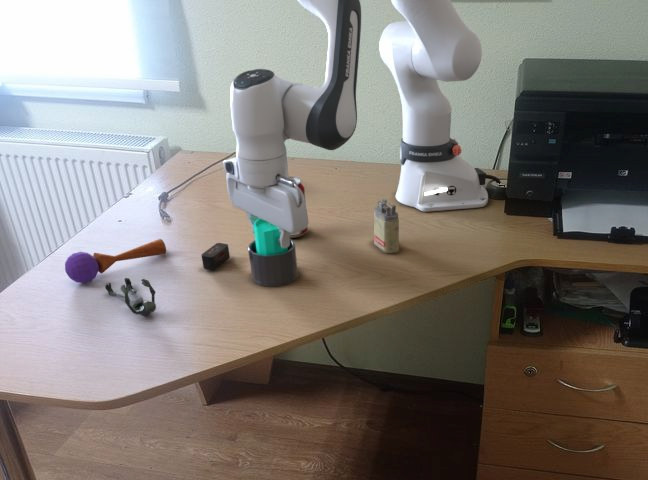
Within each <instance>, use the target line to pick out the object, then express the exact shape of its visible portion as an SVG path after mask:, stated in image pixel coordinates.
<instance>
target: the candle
mask: <svg viewBox="0 0 648 480" xmlns="http://www.w3.org/2000/svg"><path fill="white" fill-rule="evenodd" d="M253 226H254V233H253V234H254V241H255V242H256V250H257V254H261V255H276V254H281V253H284V252H286V251H288V247H286V248H282V247H280V246H278V242H277V238H278V237H280V235H281V232H280V231H279V227H277V226H275V225H273V224H271V223H269V222H267V221H265V220H263V219H260V218H259V219H258V220H257V221H255V222H254V225H253Z"/></svg>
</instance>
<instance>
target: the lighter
mask: <svg viewBox="0 0 648 480" xmlns="http://www.w3.org/2000/svg"><path fill="white" fill-rule="evenodd" d="M376 204H377V205H376V206H375V207H374V213H373V221H374V222H373V223H374V225H373V226H374V227H373V228H374V229H373V230H374V231H373V232H374V243H373V244H374V245H375V247H377V248H379V249H380V250H381V251H382V252H384V253H386V254H396V253H398V252H399V251H400V245H399V244H400V243H399V242H400V233H399V232H400V218H399V213H398V212H397V211H396V210H397V205H396V204H391V203H390V202H388V200H387V199H385V198H383V199H382V201H381V200H377V202H376ZM387 204H388V205H389V206H390V207H389V206H388V205H387Z"/></svg>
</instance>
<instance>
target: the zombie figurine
mask: <svg viewBox="0 0 648 480" xmlns="http://www.w3.org/2000/svg"><path fill="white" fill-rule="evenodd" d="M140 280H141V285H143V286H144V287H146V288H149V293H150V294H151V301H150V300H147V301H145V300H144V298H143V297H142V296H141V295H140V293H138V291H137V290H135V289H134V287H133V285H132V281H131V279H130V278H129V277H125V278H124V283H125V284H121V286H120V291H117V292H115V291H114V290H113V288H112V283H111V282H108V283H106V284H105V285H104V289H105V290H106V291H107V293H108V295H109V296H115V297H116V298H122V299H124V303H125V305H126V306H127V307H128V309H129V310H130V311H131V312H132V313H133V314H135V315H139V316H141V317H142V316H145V317H146V316H148V315H149V314H151V313H154V312H155V311H156V309H157V305H156V300H155V299H156V298H155V296H156V291H155V288H154V287H153V286H152V285H151V282H150V281H149V280H148V279H145V278H142V279H140ZM129 291H130V294H131V295H132V297H133V298H134V299H133V300H132V299H131V298H130V297H129Z"/></svg>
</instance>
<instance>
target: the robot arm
mask: <svg viewBox="0 0 648 480" xmlns="http://www.w3.org/2000/svg"><path fill="white" fill-rule="evenodd" d="M296 1H297V2H298V4H299V5H300V6H302V8H304V9H305V10H307V11H308V12H309V13H311V14H313V15H314V16H315V17H317V18H318V19H320V20H321V21H322V22H323V23H324V26H325V27H326V30H327V35H328V42H327V43H328V45H327V53H326V54H327V57H326V68H325V79H324V82H323V84H322V85H321V86H313V85H306V84H302V83H299V82H298V83H297V82H292V81H288V80H285V79H283V78H280V77H278V76H277V75H276V73H275V72H274V71H272V70H271V69H266V68H255V69H251V70H246V71H243V72H241V73H240V74H238V75H237V76H235V77H234V78H233V80H232V82H231V86H230V93H229V94H230V96H229V100H230V101H229V102H230V105H229V106H230V117H231V124H232V130H233V131H232V132H233V133H234V135H235V139H236V148H235V155H236V156H234V157H231V158H228V159H225V160H223V162H222V166H223V170H224V172H225V173H226V175H225V177H226V179H225V180H226V185H227V187H226V188H227V193H228V198H229V201H230V202H231V204H232V205H233V207H236V208H238V209H240V210H242V211H243V212H245V214H246V217H247V220H248V222H249V223H250V225H251V231H252V234H254V226H253V225H254V222H255V221H257V220H258V219H259V218H260V219H263V220H265V221H267V222H269V223H271V224H273V225H275V226H277V227H279V231H280V232H281V235H280V237H278V238H277V242H278V246H280V247H282V248H286V247H289V245H290V240H289V237H290V235H291V233H297V232H300V231H302V230H304V229H306V228H308V226H309V215H308V209H307V208H308V207H307V203H305V201H306V197H305V198H304V195H303V193H302V191H301V189H300V188H299V187H298V186H297V185H296V182H295V181H294V180H291V179H288V177H290V176H289V164H288V152H287V146H286V144H285V143H286V141H287V140H292V141H297V142H301V143H306V144H311V145H313V146H315V147H318V148H321V149H324V150H327V151H335V150H337V149H339V148H341V147H342V146H343V145H345V144H346V143H347V142H348V141H349V140H350V139H351V138H352V136H353V135H354V134H355V131H356V128H357V124H358V123H357V122H358V109H357V108H358V107H357V86H358V85H357V82H358V73H359V71H358V70H359V59H360V49H361V48H360V47H361V32H362V5H361V0H296ZM390 2H391V4H392V6H393V8H394V9H395V10H396V11H397V12H398V13H400V15H402V16H403V17H404V19H405V20H398V21H394V22H393V21H392V22H391V23H389V24H388V25H387V26H386V27H385V28H384V30H383V31H382V33H381V35H380V37H379V38H380V39H379V45H378V46H379V47H378V49H379V55H380V58H381V60H382V62H383V64H385V66H386V67H387V68H388V70H389V71H390V73H391V75H392V77H393V79H394V82H395V85H396V87H397V90H398V93H399V98H400V102H401V103H400V104H401V110H402V138H401V139H400V146H399V160H400V164H401V168H400V174H399V181H398V184H397V190H396V193H395V196H394V197H395V199H396V201H397V202H399V203H401V204H403V205H404V206H408V207H412V208H416V209H417V210H419V211H422V212H424V213H425V212H427V213H428V212H440V211H451V210H452V211H453V210H465V209H477V208H483V207H485V206H486V205H487V204H488V203H489V194H488V191H487V189H486V188H485V187H484V186H485V185H486V179H487V180H492V181H494V182H495V183H496V184H497V183H499V184H500V183H502V181H501V180H500V178H498V177H497V176H495V175H492V174H487V173H486V172H485V171H483V170H482V169H481V168H479V167H474V166H473V165H471V164H470V163H469V162H468V161H466V160H465V159H464V158H462V156H460V155H461V154H462V152H463V150H462V147H461V145H459V143H458V141H457V140H456V138H452V137H451V128H452V127H451V126H452V125H451V123H452V106H451V103H450V100H449V99H448V98H447V97H446V96H445V95H444V93H443V92H442V90H441V88H440V85H439V84H438V81H440V82H445V83H449V82H452V83H453V82H463V81H467V80H469V79H471V78H472V77H473V76H474V75H475V73H476V72H477V71H478V69H479V67H480V63H481V61H482V55H483V51H482V44H481V40H480V38H479V36H478V35H477V34H476V33H474V31H472V30H471V29H470V28H469V27H468V26H467V25H466V24H465V23H464V21H463V20H462V19H461V17H460V14H458V12H457V10H456V9H455V6H454V5H453V3H452V1H451V0H390ZM505 185H506V184H505ZM505 185H498V187H500V186H504V187H505Z"/></svg>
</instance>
